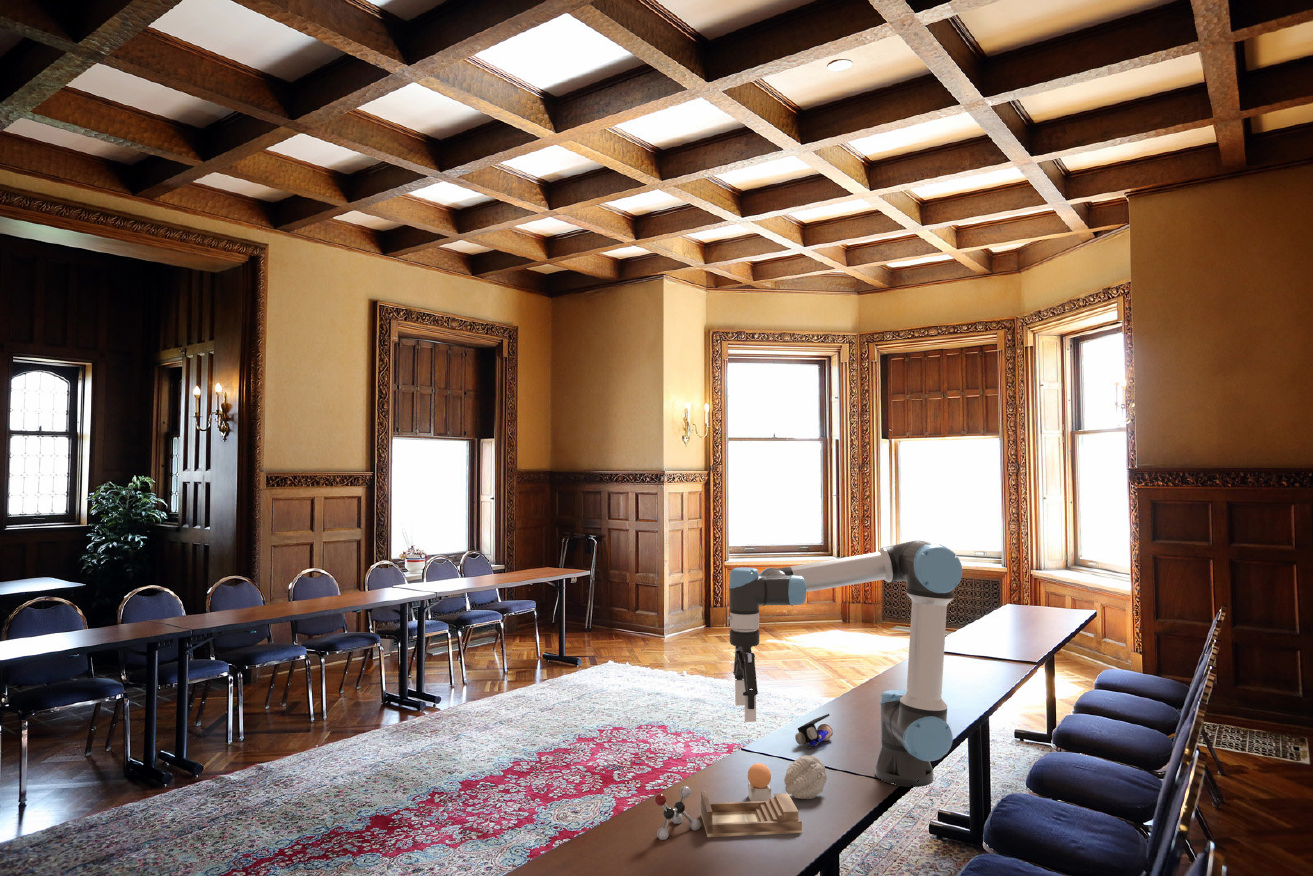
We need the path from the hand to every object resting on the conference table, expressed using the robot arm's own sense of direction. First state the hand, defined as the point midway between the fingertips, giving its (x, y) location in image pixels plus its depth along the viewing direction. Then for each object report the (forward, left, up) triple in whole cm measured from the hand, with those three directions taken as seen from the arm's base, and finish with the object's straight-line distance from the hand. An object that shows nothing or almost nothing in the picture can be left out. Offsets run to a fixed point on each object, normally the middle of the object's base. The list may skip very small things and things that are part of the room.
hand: (745, 713), depth 203 cm
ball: (-4, -1, -16) cm, 17 cm away
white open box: (-4, -1, -23) cm, 23 cm away
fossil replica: (-16, -2, -23) cm, 28 cm away
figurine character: (-24, -35, -20) cm, 47 cm away
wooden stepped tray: (+1, +13, -23) cm, 26 cm away
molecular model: (+20, +15, -23) cm, 34 cm away
